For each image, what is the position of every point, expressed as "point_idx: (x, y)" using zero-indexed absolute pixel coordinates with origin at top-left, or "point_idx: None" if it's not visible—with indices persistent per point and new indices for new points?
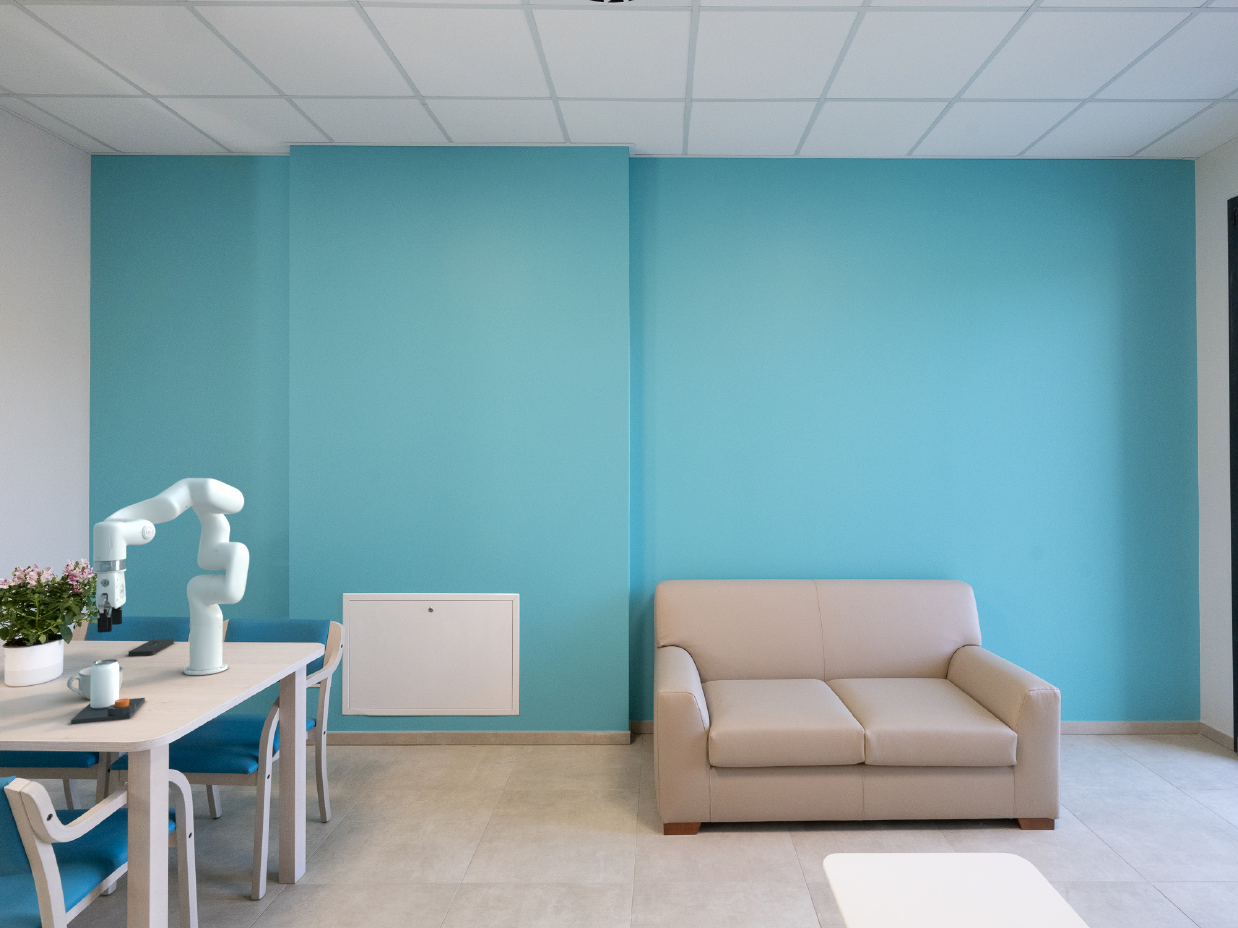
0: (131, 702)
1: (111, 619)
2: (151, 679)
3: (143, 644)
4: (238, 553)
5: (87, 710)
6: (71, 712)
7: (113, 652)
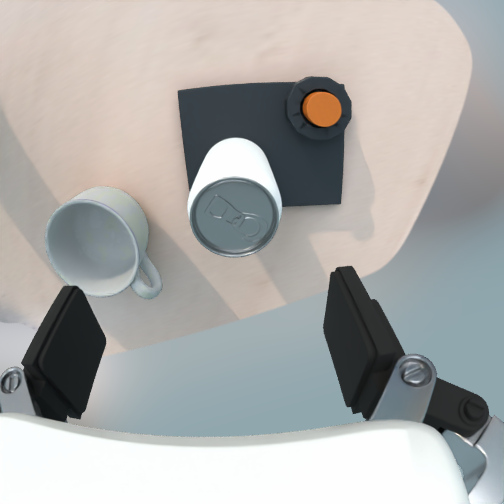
0: (297, 90)
1: (385, 331)
2: (3, 169)
3: None
4: None
5: None
6: None
7: None
